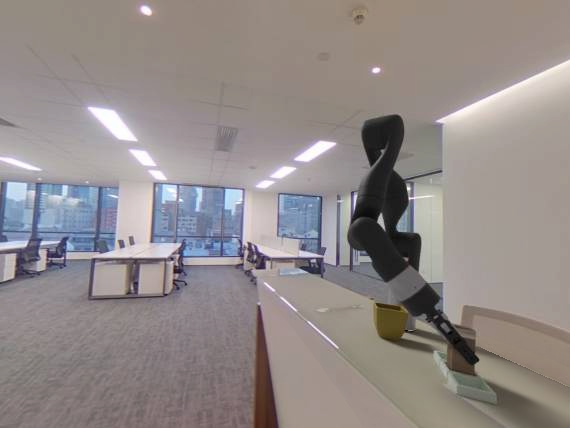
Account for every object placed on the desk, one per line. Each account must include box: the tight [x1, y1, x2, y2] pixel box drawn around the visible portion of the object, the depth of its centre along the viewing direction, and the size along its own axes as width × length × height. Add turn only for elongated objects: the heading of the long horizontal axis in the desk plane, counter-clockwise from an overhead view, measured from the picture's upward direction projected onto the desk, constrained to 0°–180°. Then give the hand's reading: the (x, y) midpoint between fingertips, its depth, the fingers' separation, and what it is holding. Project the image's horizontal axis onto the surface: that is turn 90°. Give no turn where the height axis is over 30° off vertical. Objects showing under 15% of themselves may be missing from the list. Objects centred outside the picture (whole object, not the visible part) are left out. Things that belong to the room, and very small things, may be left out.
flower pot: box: [372, 301, 409, 341], centre depth 79 cm, size 9×9×9 cm
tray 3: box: [447, 372, 498, 405], centre depth 50 cm, size 6×6×2 cm
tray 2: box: [439, 360, 483, 380], centre depth 56 cm, size 6×6×2 cm
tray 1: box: [433, 350, 447, 367], centre depth 62 cm, size 6×6×2 cm
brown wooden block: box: [446, 323, 477, 376], centre depth 57 cm, size 4×4×10 cm
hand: (471, 358), depth 56 cm, fingers closed on brown wooden block, 4 cm apart
